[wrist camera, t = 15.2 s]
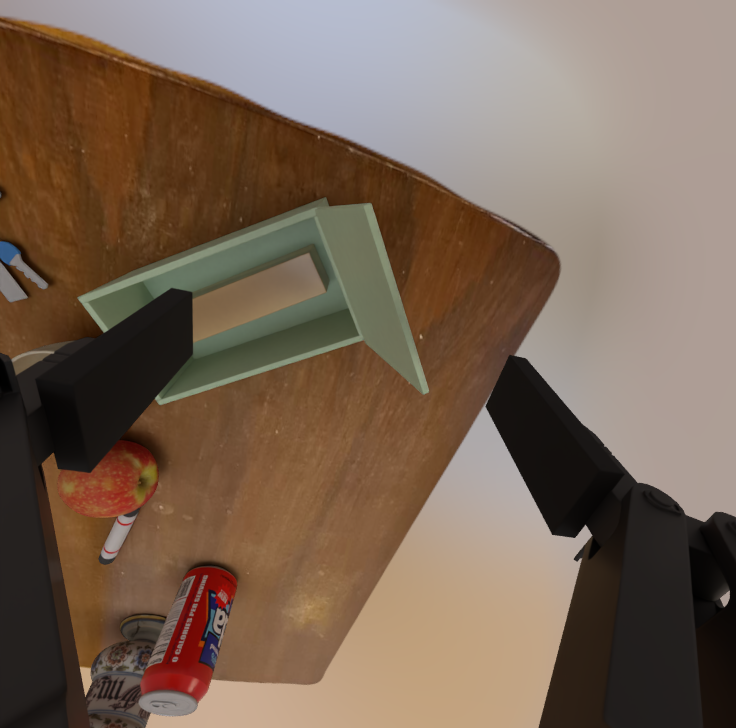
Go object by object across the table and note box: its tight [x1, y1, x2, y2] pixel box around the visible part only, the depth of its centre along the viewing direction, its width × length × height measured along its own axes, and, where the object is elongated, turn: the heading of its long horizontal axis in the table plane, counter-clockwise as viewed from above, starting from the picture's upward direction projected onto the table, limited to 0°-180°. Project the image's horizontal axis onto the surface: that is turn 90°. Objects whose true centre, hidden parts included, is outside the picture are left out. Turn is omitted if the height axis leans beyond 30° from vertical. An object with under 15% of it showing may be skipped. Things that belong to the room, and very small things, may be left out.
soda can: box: [139, 566, 237, 716], centre depth 48 cm, size 8×8×15 cm
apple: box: [57, 440, 159, 518], centre depth 39 cm, size 8×8×8 cm
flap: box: [315, 203, 429, 395], centre depth 21 cm, size 9×10×1 cm
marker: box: [99, 507, 141, 565], centre depth 47 cm, size 15×2×2 cm, turn 147°
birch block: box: [192, 244, 330, 343], centre depth 31 cm, size 4×14×4 cm, turn 111°
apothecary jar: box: [85, 615, 167, 728], centre depth 54 cm, size 12×12×18 cm
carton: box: [78, 197, 364, 405], centre depth 30 cm, size 18×10×8 cm, turn 109°
